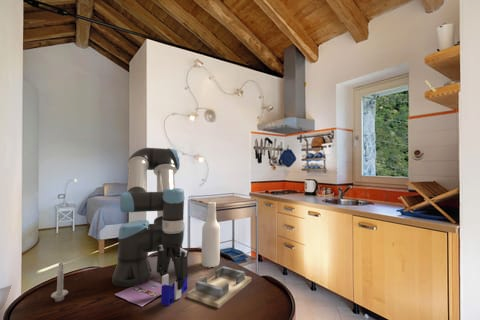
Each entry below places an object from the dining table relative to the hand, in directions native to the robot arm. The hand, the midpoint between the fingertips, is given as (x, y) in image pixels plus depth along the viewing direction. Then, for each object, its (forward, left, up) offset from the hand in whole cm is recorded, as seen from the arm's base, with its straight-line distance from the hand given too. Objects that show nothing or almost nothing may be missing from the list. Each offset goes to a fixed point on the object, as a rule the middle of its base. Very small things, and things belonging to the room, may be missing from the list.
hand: (171, 295), depth 91 cm
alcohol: (-6, +32, -1) cm, 33 cm away
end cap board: (+12, +15, -1) cm, 19 cm away
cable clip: (0, +1, -1) cm, 1 cm away
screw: (-31, -22, -1) cm, 38 cm away
